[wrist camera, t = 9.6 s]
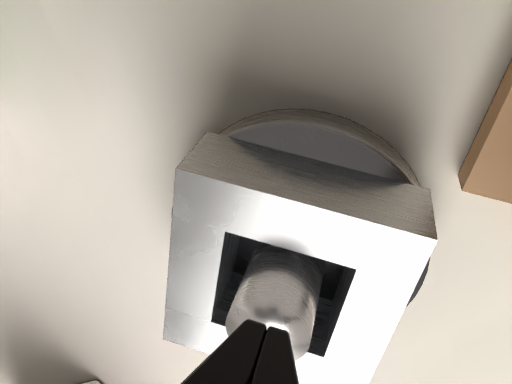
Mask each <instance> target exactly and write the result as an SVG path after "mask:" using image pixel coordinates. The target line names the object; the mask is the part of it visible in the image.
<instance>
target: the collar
mask: <svg viewBox="0 0 512 384" xmlns="http://www.w3.org/2000/svg"><path fill="white" fill-rule="evenodd" d="M240 236H243V237H246V238H250V239H253V240H257V241H260V242H264V243H267V244H271V245H274V246H277V247H281V248H284V249H288V250H291V251H295V252H298V253H302V254H305V255H309V256H312V257H316V258H319V259H323V260H326V261H330V262H333V263H336V264H340V265H343V266H345V267H344V270H343V272H342V275H341V278H340V281H339V284H338V287H337V289H336V292H335V295H334V298H333V301H331V300H328V299H324V298H321V297H319V299H318V305H317V310H316V315H315V321H314V326H313V331H312V337H311V342H310V346H309V349H308V351H307V352H306V354H305V355H304V356H303V357H302V358H300V359H299V360H297V361H295V364H296V370H297V375H298V380H299V384H369V382H370V380H371V378H372V376H373V374H374V372H375V370H376V367H377V365H378V363H379V361H380V359H381V357H382V355H383V353H384V351H385V349H386V347H387V345H388V342H389V340H390V338H391V336H392V334H393V332H394V330H395V328H396V326H397V324H398V322H399V320H400V317H401V315H402V313H403V311H404V309H405V307H406V305H407V303H408V301H409V299H410V297H411V295H412V292H413V290H414V288H415V286H416V284H417V282H418V280H419V278H420V276H421V274H422V272H423V270H424V268H425V265H426V263H427V261H428V259H429V257H430V255H431V253H432V251H433V249H434V247H435V245H436V243H437V233H436V226H435V220H434V213H433V206H432V199H431V193H430V189H427V188H423V187H419V186H415V185H411V184H408V183H404V182H400V181H396V180H392V179H388V178H385V177H381V176H377V175H373V174H369V173H365V172H362V171H358V170H354V169H350V168H346V167H342V166H339V165H335V164H331V163H327V162H323V161H319V160H316V159H312V158H308V157H304V156H300V155H296V154H293V153H289V152H285V151H281V150H277V149H273V148H270V147H266V146H262V145H258V144H254V143H250V142H247V141H243V140H239V139H235V138H231V137H228V136H224V135H220V134H216V133H212V132H207V133H206V134H205V135H204V136H203V137H202V139H201V140H200V141H199V142H198V143H197V144H196V146H195V147H194V148H193V149H192V150H191V151H190V153H189V154H188V155H187V156H186V157H185V158H184V160H183V161H182V162H181V163H180V164H179V165H178V166H177V168H176V171H175V185H174V198H173V212H172V225H171V238H170V252H169V265H168V278H167V292H166V305H165V318H164V332H163V339H164V340H167V341H170V342H173V343H176V344H179V345H182V346H185V347H188V348H191V349H194V350H198V351H201V352H204V353H207V354H211V353H212V352H213V351H214V350H215V349H216V348H217V347H218V346H219V345H220V344H221V343H222V342H223V341H224V340H225V339H226V338H227V337H228V335H227V332H226V327H225V322H226V318H227V315H228V313H229V310H230V308H231V305H232V303H233V301H234V298H235V296H236V293H237V291H238V288H239V286H240V284H241V281H242V279H243V276H244V274H241V273H237V272H234V265H235V260H236V254H237V248H238V243H239V237H240Z"/></svg>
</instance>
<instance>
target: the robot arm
mask: <svg viewBox="0 0 512 384" xmlns="http://www.w3.org/2000/svg"><path fill="white" fill-rule="evenodd" d="M181 384H299V380H298V375H297V370H296V364H295V359H294V354H293V349H292V344H291V338H290V334H289V332H288V331H286V330H283V329H280V328H277V327H273V326H269V327H268V328H267V327H266V325H265V324H264V323H261V322H257V321H254V320H251V319H247V320H245V321H244V322H243V323H242V324H241V325H240V326H239V327H238V328H237V329H236V330H235V331H233V332H232V333H231V334H230V335H229V336H228V337H227V338H226V339H225V340H224V341H223V342H222V343H221V344H220V345H219V346H218V347H217V348H216V349H215V350H214V351H213V352H212V353H211V354H210V355H209V356H208V357H207V358H206V359H205V360H204V361H203V362H202V363H201V364H200V365H199V366H198V367H197V368H196V369H195V370H194V371H193V372H192V373H191V374H190V375H189V376H188V377H187V378H186V379H185V380H184V381H183V382H182V383H181Z"/></svg>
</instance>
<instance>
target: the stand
mask: <svg viewBox="0 0 512 384" xmlns="http://www.w3.org/2000/svg"><path fill="white" fill-rule="evenodd" d="M458 178H459V182H460V186H461V189H462V191H465V192H469V193H473V194H477V195H480V196H484V197H488V198H492V199H496V200H500V201H504V202H508V203H511V204H512V60H511V62H510V64H509V66H508V68H507V70H506V73H505V75H504V77H503V79H502V81H501V83H500V86H499V88H498V90H497V92H496V94H495V96H494V98H493V101H492V103H491V105H490V107H489V109H488V111H487V114H486V116H485V118H484V120H483V122H482V124H481V126H480V129H479V131H478V133H477V135H476V137H475V139H474V142H473V144H472V146H471V148H470V150H469V152H468V154H467V157H466V159H465V161H464V163H463V165H462V167H461V170H460V172H459V174H458Z"/></svg>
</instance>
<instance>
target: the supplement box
mask: <svg viewBox="0 0 512 384" xmlns="http://www.w3.org/2000/svg"><path fill="white" fill-rule="evenodd" d="M82 384H100V383H99V382H98V381H96V380H95V381H90V382H86V383H82Z"/></svg>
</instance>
